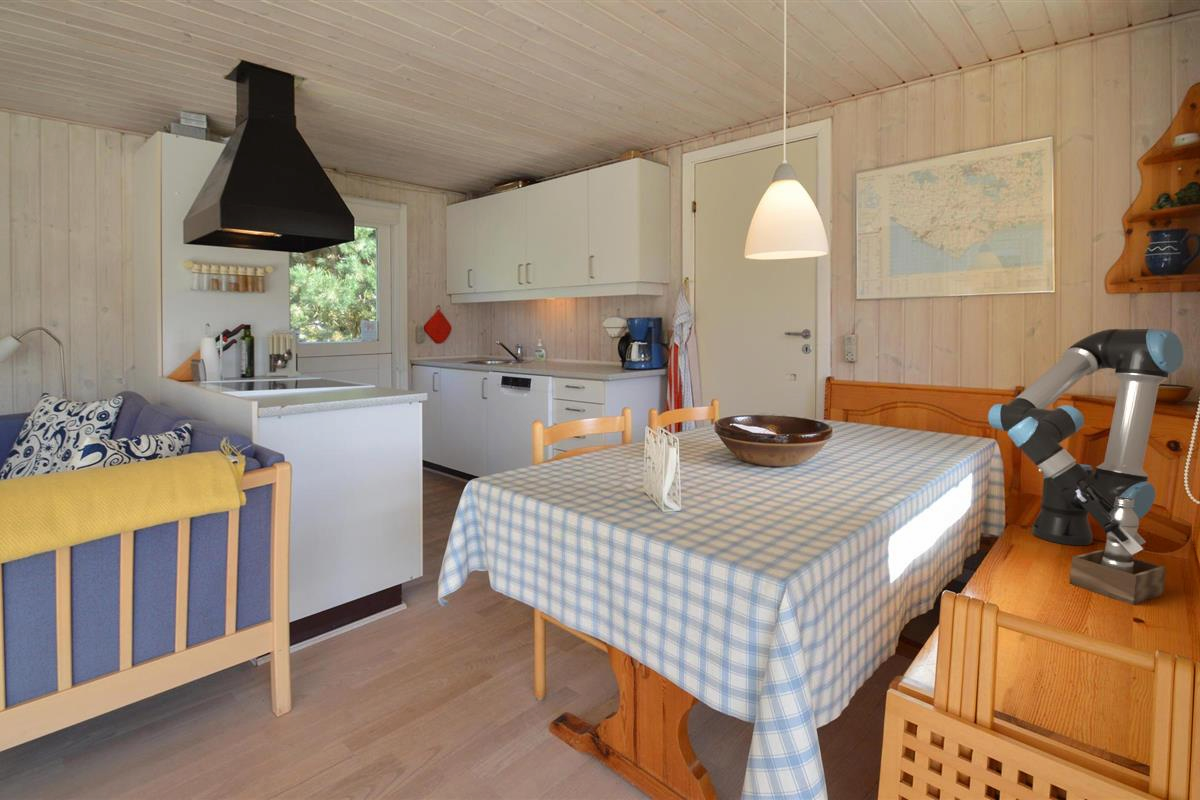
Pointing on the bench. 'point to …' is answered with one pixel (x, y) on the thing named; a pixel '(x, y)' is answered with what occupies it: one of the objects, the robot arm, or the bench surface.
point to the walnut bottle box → (1117, 578)
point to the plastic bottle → (1114, 550)
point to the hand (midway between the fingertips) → (1138, 548)
